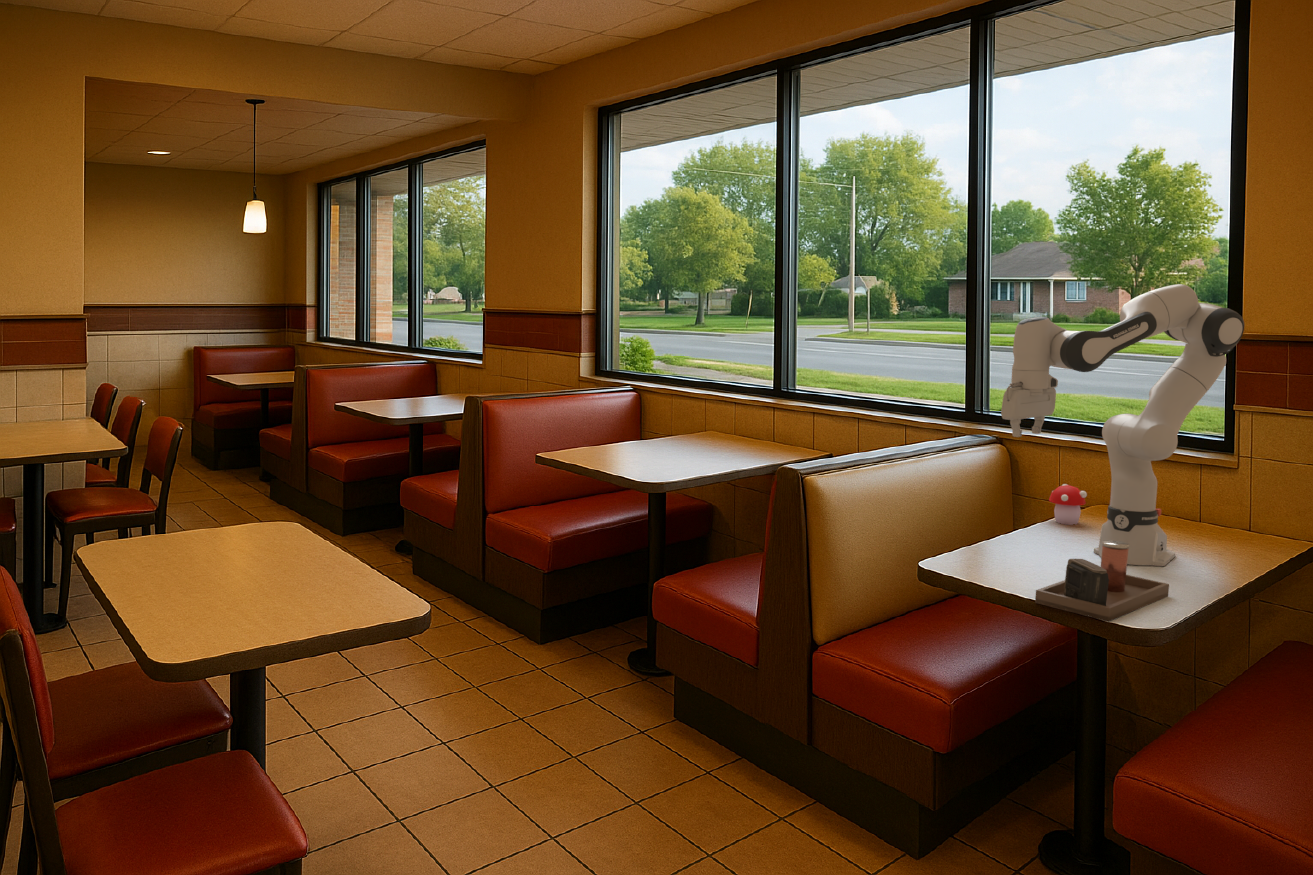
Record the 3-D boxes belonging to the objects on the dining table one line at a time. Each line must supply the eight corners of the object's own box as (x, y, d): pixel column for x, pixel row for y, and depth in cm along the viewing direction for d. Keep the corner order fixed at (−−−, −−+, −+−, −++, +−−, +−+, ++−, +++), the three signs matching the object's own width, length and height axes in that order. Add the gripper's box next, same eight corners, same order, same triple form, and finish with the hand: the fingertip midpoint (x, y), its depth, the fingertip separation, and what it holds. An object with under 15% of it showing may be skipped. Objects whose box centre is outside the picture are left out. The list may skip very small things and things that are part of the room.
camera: (1109, 614, 216) (1113, 570, 214) (1085, 614, 215) (1089, 570, 214) (1081, 598, 227) (1085, 557, 226) (1058, 598, 226) (1062, 557, 225)
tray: (1097, 580, 242) (1098, 568, 242) (1168, 596, 229) (1169, 583, 229) (1035, 602, 223) (1035, 590, 223) (1108, 621, 210) (1109, 608, 210)
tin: (1105, 583, 235) (1109, 539, 234) (1129, 589, 231) (1133, 544, 229) (1093, 587, 232) (1097, 542, 230) (1118, 593, 227) (1122, 547, 226)
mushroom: (1085, 527, 300) (1088, 489, 298) (1047, 524, 304) (1049, 486, 302) (1083, 520, 310) (1086, 483, 308) (1046, 517, 314) (1049, 480, 312)
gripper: (1019, 384, 237) (1016, 439, 239) (1061, 380, 250) (1058, 433, 252) (996, 382, 242) (993, 437, 244) (1038, 378, 255) (1035, 430, 257)
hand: (1026, 435), depth 248 cm, fingers open, 8 cm apart
